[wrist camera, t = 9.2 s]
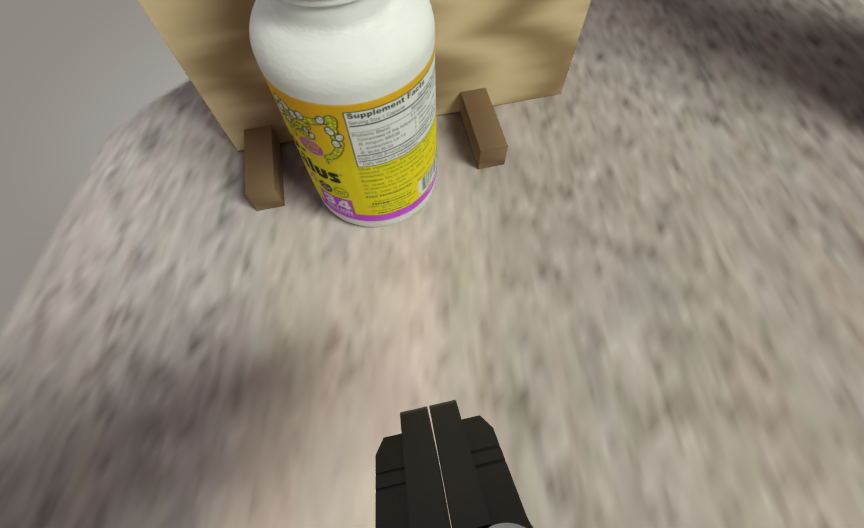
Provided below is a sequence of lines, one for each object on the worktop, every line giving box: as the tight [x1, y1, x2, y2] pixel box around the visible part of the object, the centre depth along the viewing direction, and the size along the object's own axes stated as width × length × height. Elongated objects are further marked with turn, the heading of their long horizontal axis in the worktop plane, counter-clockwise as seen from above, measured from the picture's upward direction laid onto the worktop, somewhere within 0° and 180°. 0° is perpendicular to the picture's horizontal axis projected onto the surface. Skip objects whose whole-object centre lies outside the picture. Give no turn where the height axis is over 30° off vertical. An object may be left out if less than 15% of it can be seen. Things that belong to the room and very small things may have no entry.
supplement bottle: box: [249, 0, 437, 227], centre depth 17 cm, size 7×7×13 cm
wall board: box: [138, 0, 591, 211], centre depth 20 cm, size 20×6×9 cm, turn 102°
